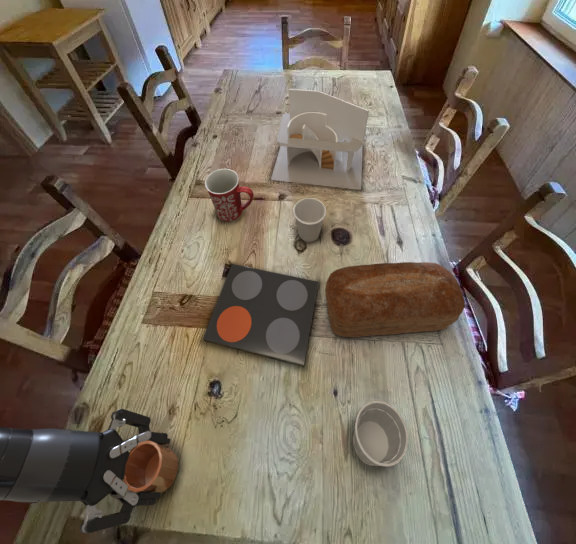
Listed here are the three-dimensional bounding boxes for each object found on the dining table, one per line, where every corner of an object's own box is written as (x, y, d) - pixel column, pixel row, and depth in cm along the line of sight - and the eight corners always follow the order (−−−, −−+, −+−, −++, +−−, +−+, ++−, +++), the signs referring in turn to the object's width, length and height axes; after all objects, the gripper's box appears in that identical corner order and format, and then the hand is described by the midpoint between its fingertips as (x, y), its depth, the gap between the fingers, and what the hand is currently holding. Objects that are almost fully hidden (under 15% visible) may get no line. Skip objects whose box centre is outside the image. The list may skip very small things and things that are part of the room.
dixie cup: (315, 215, 97) (316, 193, 90) (330, 238, 91) (332, 216, 84) (288, 226, 94) (287, 204, 87) (302, 250, 89) (302, 228, 82)
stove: (303, 367, 70) (303, 364, 69) (204, 341, 74) (202, 338, 73) (318, 284, 82) (318, 281, 81) (232, 266, 86) (231, 263, 85)
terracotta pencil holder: (168, 498, 57) (149, 497, 50) (137, 487, 58) (114, 484, 51) (183, 453, 61) (168, 446, 54) (154, 444, 62) (135, 436, 55)
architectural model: (270, 179, 107) (264, 120, 91) (283, 136, 122) (280, 79, 106) (361, 189, 103) (372, 129, 87) (362, 143, 118) (372, 85, 102)
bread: (320, 290, 81) (323, 259, 71) (436, 281, 82) (455, 249, 72) (328, 344, 73) (332, 318, 63) (457, 334, 73) (482, 306, 63)
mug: (208, 221, 96) (198, 190, 87) (221, 197, 103) (213, 165, 93) (250, 230, 94) (244, 199, 84) (261, 205, 100) (256, 174, 91)
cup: (338, 441, 61) (344, 430, 53) (366, 404, 65) (376, 388, 57) (375, 486, 57) (387, 482, 48) (402, 443, 61) (418, 433, 52)
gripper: (36, 541, 40) (165, 532, 49) (84, 397, 51) (184, 409, 59) (18, 540, 44) (140, 532, 52) (66, 406, 54) (162, 416, 63)
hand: (163, 467), depth 56 cm, fingers closed on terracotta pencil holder, 6 cm apart
